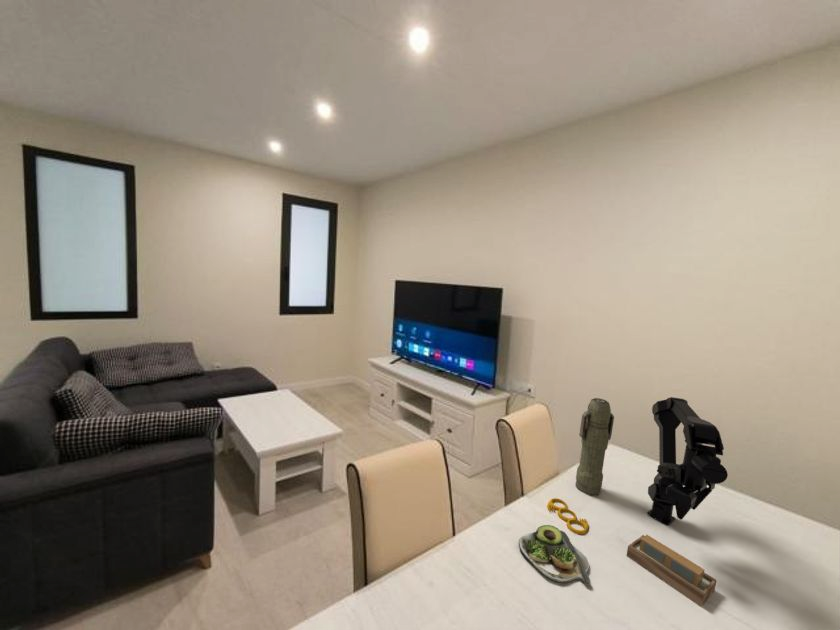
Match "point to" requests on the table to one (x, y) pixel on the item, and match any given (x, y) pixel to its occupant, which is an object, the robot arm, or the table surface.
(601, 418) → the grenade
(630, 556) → the brown picture frame
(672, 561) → the tan rectangular block
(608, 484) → the table surface
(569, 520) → the gold linked rings
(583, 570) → the salad plate
